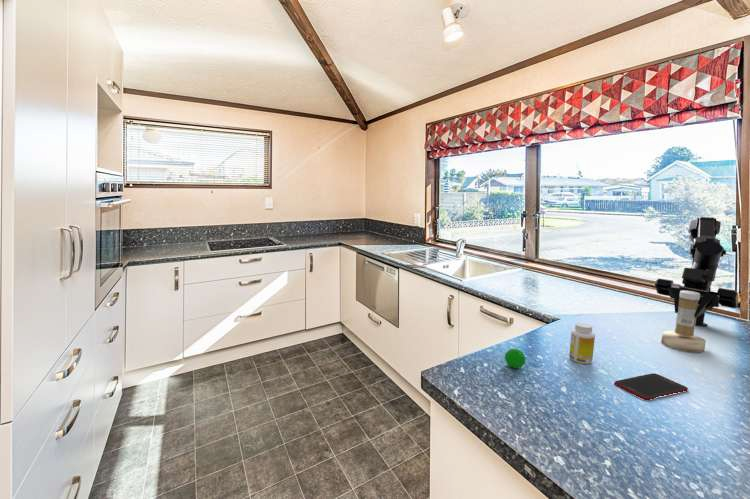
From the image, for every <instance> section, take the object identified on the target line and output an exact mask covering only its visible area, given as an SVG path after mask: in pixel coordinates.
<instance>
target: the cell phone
mask: <svg viewBox="0 0 750 499" xmlns="http://www.w3.org/2000/svg"><path fill="white" fill-rule="evenodd" d="M614 386H615V387H618V388H620V389H621V390H623V391H625V392H626V393H629V394H631V395H633V394H634V395H636V396H638V397H640V398H642V399H644V400H643V401H645V400H648V401H651V400H650V399H653V400H655V399H654V398H656V397H659V396H664V395H669V394H673V393H678V392H683V391H686V392H688V391H687V390H689V388H688V387H687V386H686V385H683V384H680V383H678V382H677V381H674V380H672V379H669V378H667V377H665V376H663V375H661V374H658V373H656V372H655V373H647V374H642V375H638V376H634V377H628V378H624V379H623V378H622V379H619V380H615V381H614ZM683 393H684V392H683ZM678 394H679V393H678ZM634 395H633V396H634ZM636 396H635V397H636ZM638 397H637V398H638ZM640 398H639V399H640ZM642 399H641V400H642ZM656 399H657V398H656Z"/></svg>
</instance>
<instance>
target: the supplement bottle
mask: <svg viewBox="0 0 750 499" xmlns="http://www.w3.org/2000/svg"><path fill="white" fill-rule="evenodd" d="M570 333H571V334H570V344H569V354H568V356H569V359H570V360H572V361H573V362H575V363H578V364H581V365H582V364H583V365H588V364H591V363H592V362H593V357H594V348H595V340H596V335H595V333H594V332H593V326H592V325H591V324H589V323H585V322H576V323H575V327H574V328H573V329H572V330H571V332H570Z"/></svg>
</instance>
